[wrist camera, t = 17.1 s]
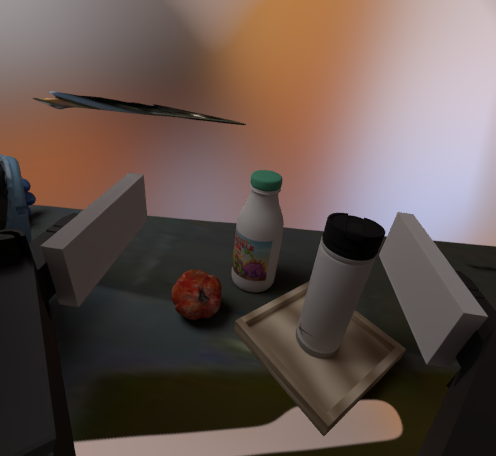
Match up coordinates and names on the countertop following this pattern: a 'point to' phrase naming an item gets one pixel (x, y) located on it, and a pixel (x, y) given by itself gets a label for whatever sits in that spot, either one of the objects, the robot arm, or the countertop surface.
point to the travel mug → (337, 282)
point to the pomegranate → (197, 295)
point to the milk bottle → (258, 234)
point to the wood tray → (314, 368)
